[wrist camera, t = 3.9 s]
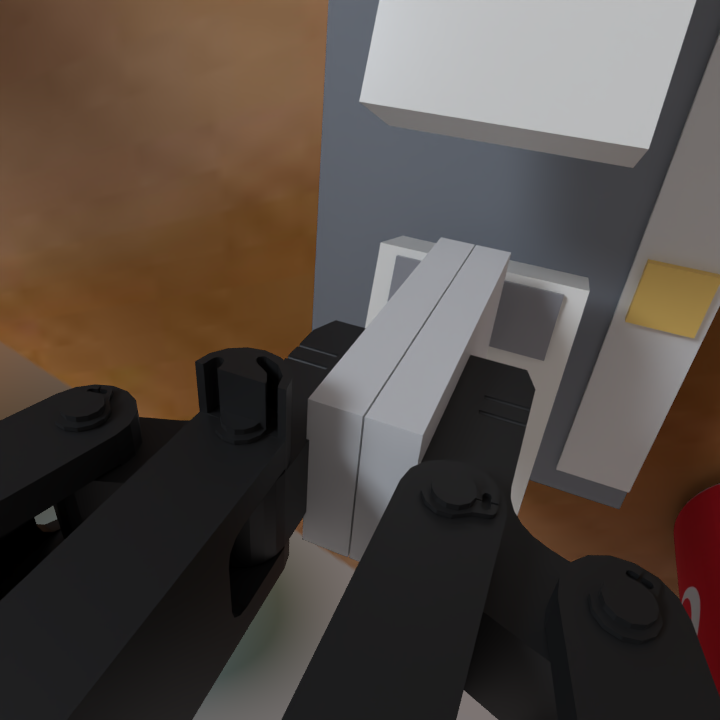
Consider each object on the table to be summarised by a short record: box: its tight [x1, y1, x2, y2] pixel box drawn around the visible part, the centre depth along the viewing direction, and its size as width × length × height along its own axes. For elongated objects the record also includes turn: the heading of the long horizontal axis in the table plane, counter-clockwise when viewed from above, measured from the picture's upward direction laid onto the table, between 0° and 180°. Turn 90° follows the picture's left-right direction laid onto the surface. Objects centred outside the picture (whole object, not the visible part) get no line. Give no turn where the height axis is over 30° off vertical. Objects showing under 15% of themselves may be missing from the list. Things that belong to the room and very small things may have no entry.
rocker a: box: [365, 236, 590, 515], centre depth 16 cm, size 5×8×2 cm, turn 174°
